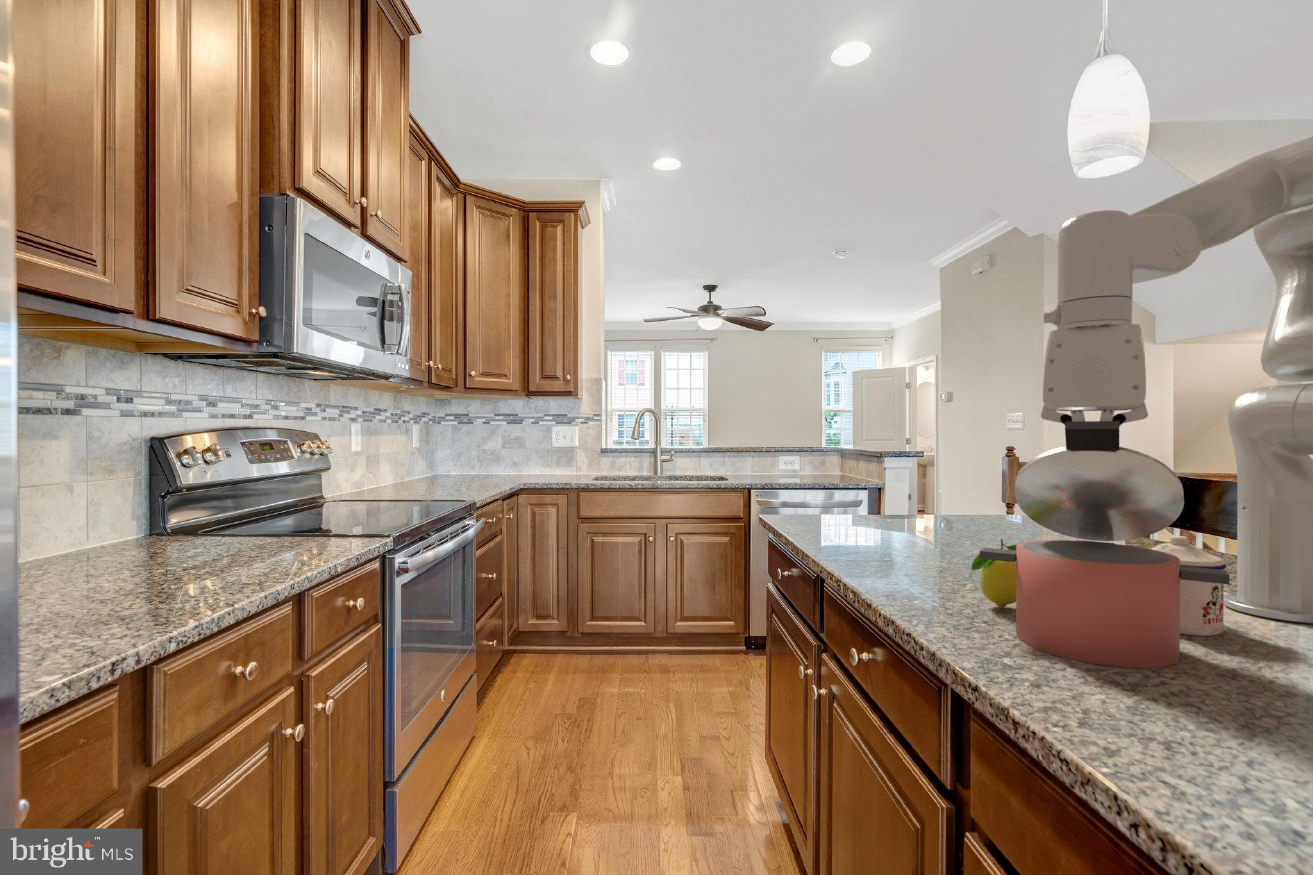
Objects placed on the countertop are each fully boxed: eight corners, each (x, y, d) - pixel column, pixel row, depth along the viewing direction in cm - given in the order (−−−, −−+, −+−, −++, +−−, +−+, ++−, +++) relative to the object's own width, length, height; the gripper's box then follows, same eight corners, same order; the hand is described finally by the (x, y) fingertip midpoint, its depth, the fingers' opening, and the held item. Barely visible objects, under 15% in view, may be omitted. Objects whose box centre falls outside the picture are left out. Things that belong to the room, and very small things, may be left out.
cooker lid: (1020, 534, 88) (1022, 521, 89) (1179, 547, 78) (1178, 532, 79) (1005, 429, 76) (1007, 416, 77) (1191, 428, 66) (1189, 413, 67)
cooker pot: (992, 609, 90) (992, 532, 90) (1217, 642, 76) (1217, 550, 76) (970, 641, 77) (970, 550, 76) (1238, 688, 62) (1238, 576, 62)
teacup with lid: (1224, 642, 76) (1224, 545, 76) (1130, 626, 82) (1130, 537, 82) (1228, 620, 85) (1228, 533, 85) (1143, 607, 91) (1143, 526, 91)
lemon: (1036, 609, 91) (1036, 539, 91) (1020, 616, 87) (1020, 544, 87) (987, 599, 96) (987, 533, 96) (970, 606, 92) (970, 537, 92)
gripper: (1019, 319, 79) (1017, 467, 79) (1175, 306, 70) (1172, 473, 70) (1026, 328, 85) (1024, 465, 85) (1170, 316, 76) (1168, 470, 76)
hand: (1091, 468), depth 77 cm, fingers closed
